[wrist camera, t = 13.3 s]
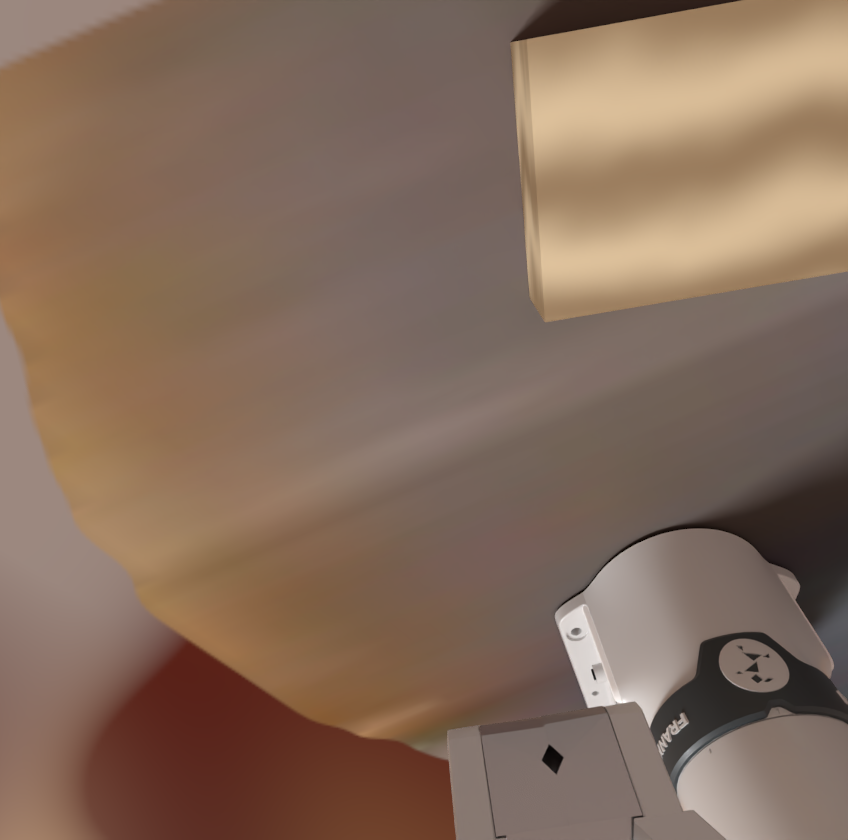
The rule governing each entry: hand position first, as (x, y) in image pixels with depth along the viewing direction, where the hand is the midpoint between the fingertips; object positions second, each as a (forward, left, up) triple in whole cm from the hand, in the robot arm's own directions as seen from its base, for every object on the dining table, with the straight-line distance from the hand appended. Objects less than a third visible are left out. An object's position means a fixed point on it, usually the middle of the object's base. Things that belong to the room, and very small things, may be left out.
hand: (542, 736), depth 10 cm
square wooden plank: (+3, -14, -29) cm, 32 cm away
